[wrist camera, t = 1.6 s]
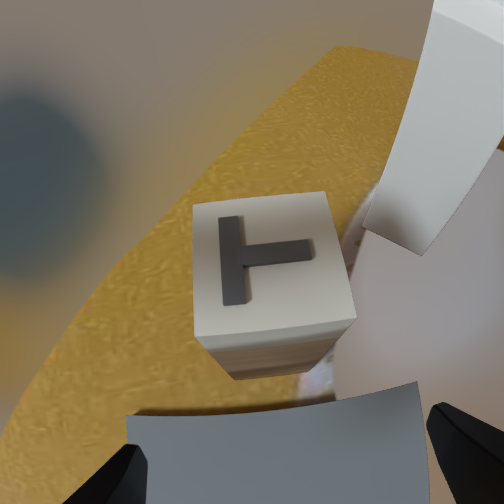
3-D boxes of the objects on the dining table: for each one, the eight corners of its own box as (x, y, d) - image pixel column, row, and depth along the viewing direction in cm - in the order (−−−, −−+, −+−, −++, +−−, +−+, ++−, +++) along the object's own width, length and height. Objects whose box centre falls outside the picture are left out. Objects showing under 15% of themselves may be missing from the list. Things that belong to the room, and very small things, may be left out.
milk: (379, 183, 28) (441, -43, 9) (434, 210, 26) (528, 0, 7) (360, 228, 26) (439, -46, 6) (422, 259, 24) (556, 16, 5)
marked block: (307, 371, 20) (358, 315, 9) (234, 380, 20) (193, 335, 9) (297, 304, 23) (325, 187, 12) (228, 312, 23) (191, 201, 11)
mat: (424, 523, 13) (430, 526, 12) (150, 556, 13) (145, 561, 12) (411, 382, 19) (416, 381, 18) (131, 415, 19) (126, 414, 18)
